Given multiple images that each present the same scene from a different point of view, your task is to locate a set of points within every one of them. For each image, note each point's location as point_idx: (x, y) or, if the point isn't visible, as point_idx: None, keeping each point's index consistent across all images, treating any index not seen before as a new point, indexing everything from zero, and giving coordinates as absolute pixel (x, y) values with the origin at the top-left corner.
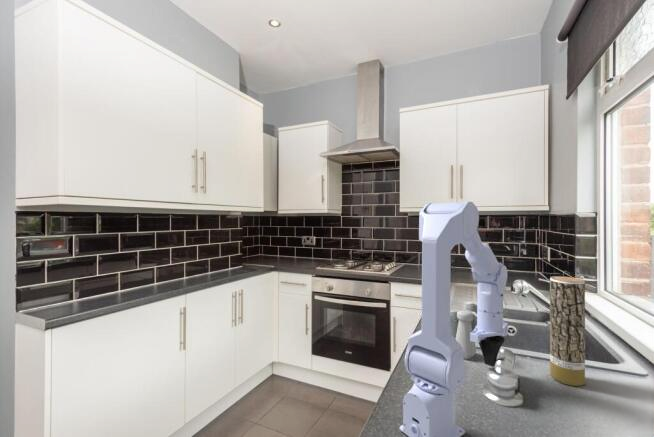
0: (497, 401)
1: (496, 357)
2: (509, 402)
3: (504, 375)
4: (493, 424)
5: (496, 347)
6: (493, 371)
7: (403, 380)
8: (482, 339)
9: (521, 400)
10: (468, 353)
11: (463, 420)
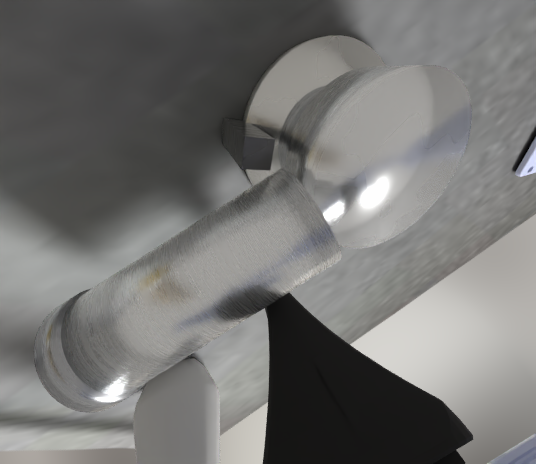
0: None
1: (278, 314)
2: None
3: (409, 153)
4: (513, 27)
5: (373, 382)
6: (396, 213)
7: (418, 286)
8: (520, 448)
9: (315, 45)
10: (196, 378)
11: (519, 105)
